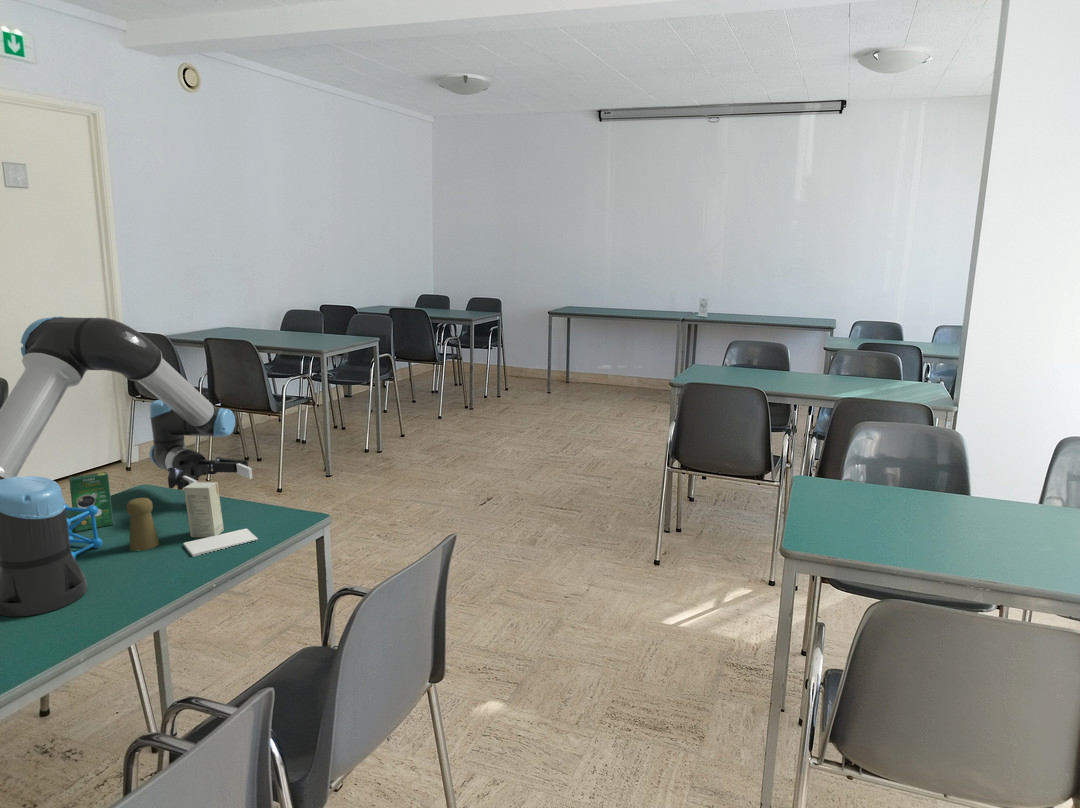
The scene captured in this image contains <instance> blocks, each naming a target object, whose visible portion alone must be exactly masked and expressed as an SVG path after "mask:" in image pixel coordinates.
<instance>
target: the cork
mask: <svg viewBox="0 0 1080 808" xmlns="http://www.w3.org/2000/svg"><path fill="white" fill-rule="evenodd" d="M153 508H154V507H153V501H152V500H151V499H150V498H149V497H148V498H147V497H138V498H133V499H131V500H129V501H128V502H127V504H126V508H125V509H126V512H127V514H128V515H129V517H130V518H129V523H130V524H129V550H130V549H131V550H130V551H133V550H134V551H133V552H138V551H137V550H144V551H148V549H149V550H152V549H154V547H155V548H157V547H158V546H159V545H160V541H159V537H158V534H157V530H156V529H157V528H156V526H155V523H154V519H153V515H152V511H153ZM157 545H158V546H157ZM151 548H152V549H151Z"/></svg>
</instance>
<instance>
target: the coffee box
mask: <svg viewBox="0 0 1080 808" xmlns="http://www.w3.org/2000/svg"><path fill="white" fill-rule="evenodd" d="M109 480H110V479H109V474H108V473H107V472H106V471H102V472H97V473H90V474H84V475H83V474H82V475H77V476H69V478H68V481H69V490H70V498H71V507H73V508H86V509H87V507H89V506H91V505H94V506H96V507H97V508H98V513H97V514H96V515H95V522H96V529H97V528H104V526H105V527H108V526H112V525H114V517H113V510H112V509H113V507H112V498H111V497H112V496H111V490H110V489H111V487H110V481H109ZM82 513H84V512H82V511H72V516H73V517H75V516H77V515H79V514H82ZM73 517H72V518H73ZM79 519H80V518H79ZM79 519H76V520H74V521H73V524H74V523H75V522H76V521H77V520H79ZM74 529H76V530H75V532H76V531H77V533H78V532H83V531H84V530H85V531H88V529H89V530H93V528H92V520H91V516H88V517H86V518H85V519H84V520H83V521H81V522H80V523H79V524H78V525H77V526H75V527H74ZM85 531H84V532H85Z"/></svg>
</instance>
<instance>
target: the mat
mask: <svg viewBox="0 0 1080 808" xmlns="http://www.w3.org/2000/svg"><path fill="white" fill-rule="evenodd" d="M255 540H258V541H259V538H258V537H257V536H256V535H255V534H253V533H252V531H250V529H248V528H243V529H238V530H237V529H236V530H233V531H230V532H226V533H220V534H219V535H216V536H211V537H202V538H199V539H194V540H191V541H185V542H183V546H184V548H185V549H186V550H187V552H188V553H189V554H190V555H191V556H192V557H193V558H194V557H198V556H202V555H201V554H203V555H206V554H205V553H207V554H210V553H209V552H211V553H214V552H213V551H215V552H218V551H217V550H219V551H221V550H220V549H223V550H226V549H225V548H227V549H229V548H228V547H231V546H235V545H239V544H243V543H247V542H251V541H255ZM231 548H232V547H231Z"/></svg>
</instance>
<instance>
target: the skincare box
mask: <svg viewBox="0 0 1080 808" xmlns="http://www.w3.org/2000/svg"><path fill="white" fill-rule="evenodd" d="M183 490H184V492H183V493H184V497H185V498H184V499H185V505H186V511H187V512H186V513H187V519H188V526H189V527H188V528H189V533H190V534H189V535H190V537H191V538H207V537H211V536H216V535H220V534H222V532H224V530H225V529H224V521H223V514H222V506H221V499H220V491H219V484H218V482H215V481H214V482H213V481H210V482H209V481H206V482H203V481H201V482H200V481H198V482H193V483H191V484H190V485H188V486H186V487H184V488H183Z"/></svg>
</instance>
